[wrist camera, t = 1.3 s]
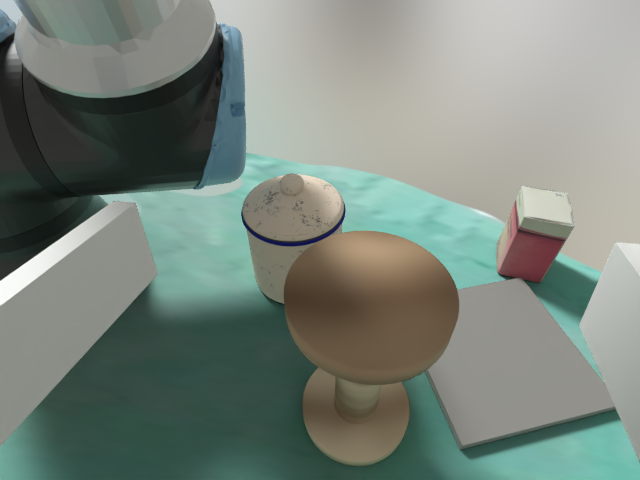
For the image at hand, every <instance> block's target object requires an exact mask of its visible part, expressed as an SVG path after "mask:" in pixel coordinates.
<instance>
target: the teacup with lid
mask: <svg viewBox="0 0 640 480" xmlns="http://www.w3.org/2000/svg"><path fill="white" fill-rule="evenodd" d="M241 216H242V221H243V224H244V226H245V227H246V229H247V234H248V239H249V245H250V251H251V256H252V262H253V267H254V273H255V279H256V282H257V284H258V286H259V288H260V289H261V291H262V292H263V293H264V294H265V295H266V296H268V297H269V298H271V299H273V300H274V301H277V302H280V303H283V304H284V285H285V280H286V277H287V274H288V272H289V270H290V268H291V266H292V264H293V263H294V262H295V260H296V259H297V258H298V257H299V256H300V255H301V254H302V253H303V252H304V251H305V250H306V249H307V248H309V247H310V246H312V245H313V244H315V243H317V242H318V241H320V240H322V239H325V238H327V237H330V236H333V235H336V234H340V233H342V222H343V220H344V217H345V204H344V202H343V199H342V197H341V195H340V194H339V192H338V191H337V190H336V189H335V188H334V187H333V186H332V185H331V184H329V183H327V182H326V181H324V180H321V179H319V178H316V177H312V176H306V175H297V174H287V175H285V176H279V177H275V178H272V179H269V180H267V181H265V182H263V183H261V184H259V185H258V186H256V187H255V188H254V189H253V190H252V191H251V192H250V193H249V194H248V195H247V197H246V199H245V201H244V203H243V207H242V212H241Z"/></svg>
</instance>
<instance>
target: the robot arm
mask: <svg viewBox="0 0 640 480" xmlns="http://www.w3.org/2000/svg"><path fill="white" fill-rule="evenodd" d="M14 1H15V3H16V4H17V6H18V7H19V9H20V10H21V12H22V13H21V15H20V18H19V20H18V24H17V26H16V24H15V22H13V21H11V20H10V18H9V17H8V16H7V14H6V13H5V12H4V11H2V10H0V446H1V445H2V444H3V443H4V442H5V441H6V440H7V439H8V438H9V436H10V435H11V434H12V433H13V432H14V431H15V430H16V429H17V428H18V427H19V425H20V424H21V423H22V422H23V421H24V420H25V419H26V418H27V417H28V416H29V415H30V413H31V412H32V411H33V410H34V409H35V408H36V407H37V406H38V405H39V404H40V403H41V401H42V400H43V399H44V398H45V397H46V396H47V395H48V394H49V393H50V392H51V391H52V389H53V388H54V387H55V386H56V385H57V384H58V383H59V382H60V381H61V380H62V378H63V377H64V376H65V375H66V374H67V373H68V372H69V371H70V370H71V369H72V368H73V366H74V365H75V364H76V363H77V362H78V361H79V360H80V359H81V358H82V357H83V356H84V354H85V353H86V352H87V351H88V350H89V349H90V348H91V347H92V346H93V345H94V344H95V342H96V341H97V340H98V339H99V338H100V337H101V336H102V335H103V334H104V333H105V331H106V330H107V329H108V328H109V327H110V326H111V325H112V324H113V323H114V322H115V321H116V319H117V318H118V317H119V316H120V315H121V314H122V313H123V312H124V311H125V310H126V309H127V307H128V306H129V305H130V304H131V303H132V302H133V301H134V300H135V299H136V298H137V297H138V295H139V294H140V293H141V292H142V291H143V290H144V289H145V288H146V287H147V286H148V284H149V283H150V282H151V281H152V280H153V279H154V278H155V277H156V276H157V275H158V273H157V270H156V266H155V263H154V260H153V257H152V254H151V251H150V247H149V244H148V241H147V238H146V235H145V232H144V228H143V225H142V222H141V219H140V216H139V212H138V209H137V206H136V203H131V202H120V201H113V202H112V203H110V204H107V203H106V202H105V201H104V200H103V199H102V198H101V197H100V196H99V195H107V194H122V193H136V192H151V191H165V190H179V189H201V188H203V187H204V186H209V185H217V184H224V183H230V182H232V181H235V180H236V179H238V178H239V177H240V176H241V174H242V173H243V171H244V168H245V160H246V119H245V108H244V107H245V79H244V59H243V45H242V36H241V33H240V31H239V30H238V29H237V28H235V27H233V26H227V25H226V24H224V23H220V24H216V19H215V14H214V11H213V8H212V5H211V3H210V1H209V0H14ZM579 326H580V329H581V331H582V333H583V335H584V338H585V340H586V342H587V344H588V347H589V349H590V351H591V353H592V356H593V358H594V360H595V362H596V365H597V367H598V369H599V371H600V374H601V376H602V378H603V380H604V383H605V385H606V387H607V390H608V392H609V394H610V396H611V399H612V401H613V403H614V405H615V408H616V410H617V412H618V414H619V417H620V419H621V421H622V423H623V426H624V428H625V430H626V432H627V435H628V437H629V439H630V441H631V444H632V446H633V448H634V451H635V453H636V455H637V457H638V460H639V462H640V244H631V243H618V242H615V244H614V246H613V249H612V251H611V253H610V256H609V258H608V260H607V262H606V265H605V267H604V269H603V272H602V274H601V276H600V278H599V281H598V283H597V285H596V288H595V290H594V292H593V294H592V297H591V299H590V301H589V304H588V306H587V308H586V310H585V313H584V315H583V317H582V320H581V322H580V324H579Z"/></svg>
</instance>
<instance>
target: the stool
mask: <svg viewBox="0 0 640 480" xmlns="http://www.w3.org/2000/svg"><path fill="white" fill-rule="evenodd" d="M284 304H285V313H286V322H287V326H288V329H289V332H290V334H291V337H292V339H293V341H294V342H295V344H296V345H297V347H298V348H299V350H300V351H301V352H302V353H303V354H304V355H305V357H306V358H307V359H309V360H310V361H311V362H312V363H313V364H314V365H316V366H317V367H318V368H317V369H316V370H315V371H314V373H313V374H312V375H311V377H310V378H309V380H308V382H307V384H306V387H305V390H304V394H303V417H304V423H305V427H306V430H307V432H308V434H309V436H310V438H311V440H312V441H313V443H314V444H315V445H316V447H317V448H318V449H319V450H320V451H321V452H322V453H324V454H325V455H326V456H328V457H329V458H331V459H333V460H334V461H337V462H339V463H342V464H346V465H350V466H366V465H371V464H374V463H377V462H380V461H382V460H383V459H385V458H387V457H388V456H389V455H391V454H392V453H393V452H394V451H395V450H396V448H397V447H398V446H399V444H400V443H401V441H402V439H403V437H404V434H405V431H406V429H407V426H408V422H409V415H410V406H409V399H408V395H407V392H406V390H405V388H404V386H403V384H402V381H405V380H409V379H411V378H413V377H415V376H418V375H420V374H421V373H423V372H424V371H426V370H427V369H429V368H430V367H431V366H432V365H433V364H435V363H436V362H437V361H438V359H439V358H440V357H441V356H442V354H443V353H444V351H445V349H446V348H447V346H448V344H449V341H450V339H451V336H452V334H453V331H454V329H455V326H456V323H457V320H458V315H459V296H458V291H457V288H456V285H455V283H454V281H453V279H452V277H451V275H450V273H449V272H448V271H447V269H446V268H445V266H444V265H443V264H442V263H441V262H440V261H439V260H438V259H437V258H436V257H435V256H434V255H432V254H431V253H430V252H429V251H427V250H426V249H424V248H423V247H421V246H419V245H418V244H416V243H414V242H412V241H409V240H407V239H405V238H402V237H399V236H396V235H392V234H388V233H383V232H376V231H352V232H345V233H340V234H336V235H333V236H330V237H327V238H325V239H322V240H320V241H318V242H317V243H315V244H313V245H312V246H310V247H309V248H307V249H306V250H305V251H304V252H303V253H302V254H301V255H300V256H299V257H298V258H297V259H296V260H295V262H294V263H293V264H292V266H291V268H290V270H289V272H288V274H287V277H286V280H285V285H284Z"/></svg>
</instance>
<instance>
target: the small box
mask: <svg viewBox="0 0 640 480" xmlns="http://www.w3.org/2000/svg"><path fill="white" fill-rule="evenodd" d="M574 226H575V223H574V217H573V212H572V207H571V203H570V199H569V194H568V193H563V192H557V191H551V190H545V189H539V188H532V187H526V186H522V187H521V190H520V192H519V194H518V196H517V199H516V201H515V204H514V206H513V208H512V210H511V213H510V215H509V217H508V219H507V222H506V224H505V226H504V228H503V231H502V233H501V235H500V238H499V240H498V243H497V270H498V274H501V275H505V276H510V277H514V278H521V277H522V279H523V280H528V281H533V282H538V283H541V282H542V280H543V278H544V277H545V275H546V273H547V272H548V270H549V268H550V266H551V265H552V263H553V261H554V260H555V258H556V256H557V255H558V253H559V251H560V250H561V248H562V246H563V245H564V243H565V241H566V240H567V238H568V236H569V235H570V233H571V231H572V230H573V228H574Z"/></svg>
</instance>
